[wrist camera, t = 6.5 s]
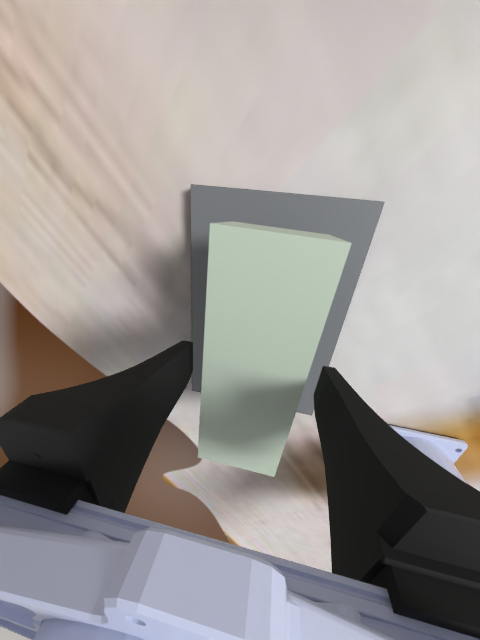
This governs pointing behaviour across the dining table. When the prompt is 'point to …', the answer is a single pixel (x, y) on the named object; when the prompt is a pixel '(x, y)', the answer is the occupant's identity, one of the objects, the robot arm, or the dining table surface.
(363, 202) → the peg stand
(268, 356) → the pale green block
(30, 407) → the robot arm
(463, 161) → the dining table surface
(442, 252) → the dining table surface
